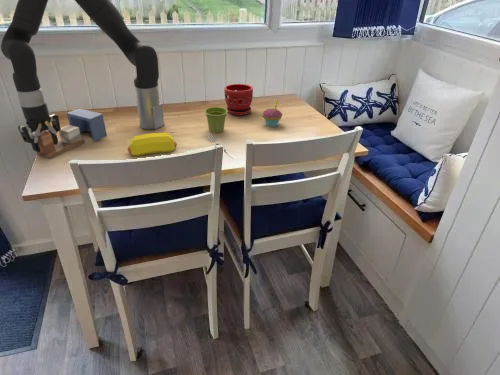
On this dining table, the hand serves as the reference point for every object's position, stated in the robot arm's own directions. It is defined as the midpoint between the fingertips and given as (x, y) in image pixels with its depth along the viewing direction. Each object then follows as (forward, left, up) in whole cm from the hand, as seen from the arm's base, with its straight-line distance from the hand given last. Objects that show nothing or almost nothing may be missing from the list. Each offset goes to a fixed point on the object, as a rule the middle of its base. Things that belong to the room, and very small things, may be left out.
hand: (46, 147), depth 129 cm
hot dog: (-31, -20, -3) cm, 37 cm away
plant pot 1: (-42, -48, -3) cm, 64 cm away
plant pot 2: (-40, -72, -3) cm, 82 cm away
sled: (0, -6, -3) cm, 6 cm away
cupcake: (-60, -65, -3) cm, 89 cm away
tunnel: (0, -19, -3) cm, 19 cm away
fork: (-53, -34, -3) cm, 63 cm away
